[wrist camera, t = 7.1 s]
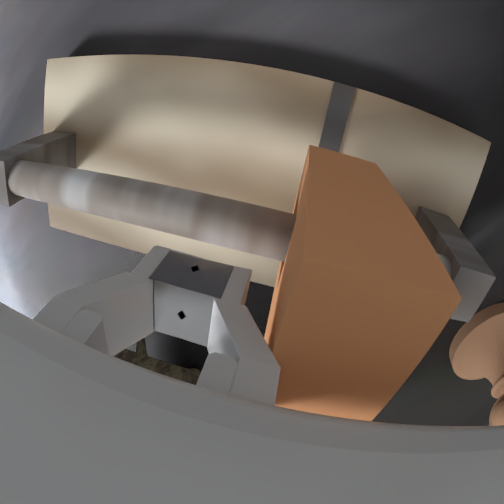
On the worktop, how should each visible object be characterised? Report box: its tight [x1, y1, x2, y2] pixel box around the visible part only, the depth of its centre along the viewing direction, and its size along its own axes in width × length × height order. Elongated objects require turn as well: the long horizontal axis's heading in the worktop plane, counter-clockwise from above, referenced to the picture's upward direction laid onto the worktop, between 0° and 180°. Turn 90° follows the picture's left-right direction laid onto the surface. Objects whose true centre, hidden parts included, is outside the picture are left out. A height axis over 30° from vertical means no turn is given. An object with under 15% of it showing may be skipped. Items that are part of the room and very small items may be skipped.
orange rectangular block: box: [264, 145, 462, 421], centre depth 10 cm, size 3×6×9 cm, turn 170°
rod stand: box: [0, 55, 496, 323], centre depth 15 cm, size 12×26×8 cm, turn 80°
